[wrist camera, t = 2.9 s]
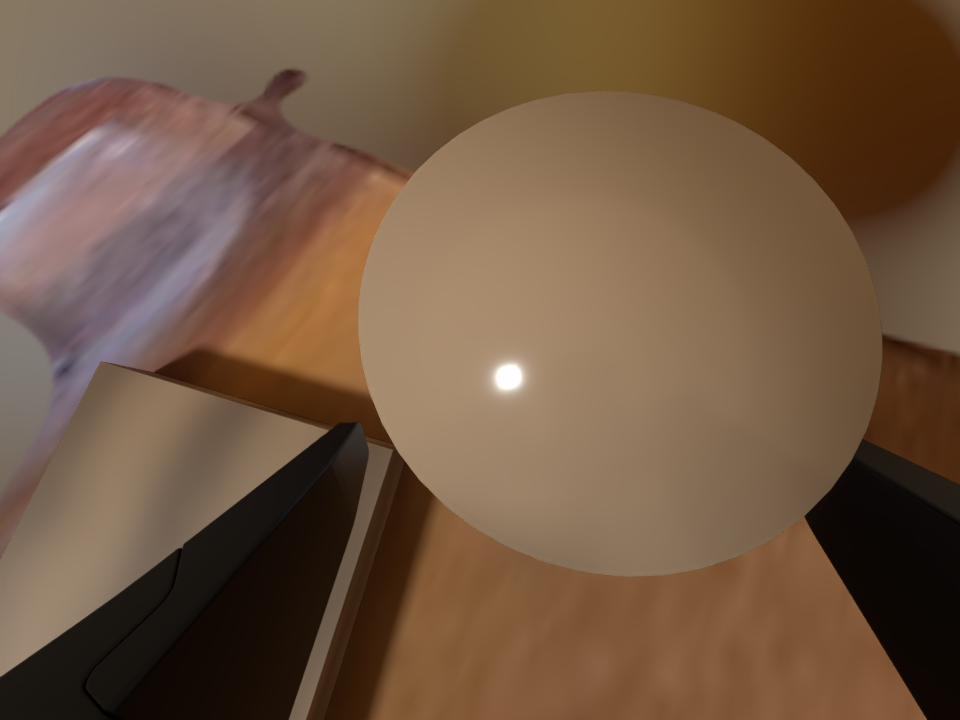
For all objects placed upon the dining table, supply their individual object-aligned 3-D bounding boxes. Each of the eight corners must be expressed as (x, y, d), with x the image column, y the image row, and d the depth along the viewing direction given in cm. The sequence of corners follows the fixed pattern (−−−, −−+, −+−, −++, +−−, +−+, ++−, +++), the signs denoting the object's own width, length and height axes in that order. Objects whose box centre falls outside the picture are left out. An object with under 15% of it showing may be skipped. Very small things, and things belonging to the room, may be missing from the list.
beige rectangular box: (409, 449, 17) (393, 450, 15) (306, 774, 15) (267, 840, 12) (152, 371, 19) (100, 361, 17) (20, 650, 16) (-64, 686, 14)
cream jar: (615, 358, 18) (896, 134, 5) (586, 495, 16) (863, 665, 4) (485, 325, 18) (440, 60, 6) (447, 454, 17) (284, 477, 4)
